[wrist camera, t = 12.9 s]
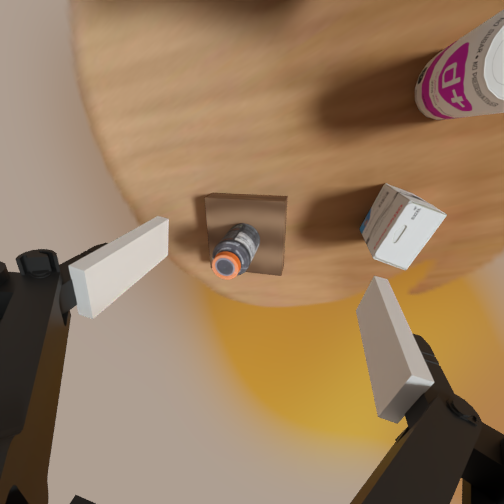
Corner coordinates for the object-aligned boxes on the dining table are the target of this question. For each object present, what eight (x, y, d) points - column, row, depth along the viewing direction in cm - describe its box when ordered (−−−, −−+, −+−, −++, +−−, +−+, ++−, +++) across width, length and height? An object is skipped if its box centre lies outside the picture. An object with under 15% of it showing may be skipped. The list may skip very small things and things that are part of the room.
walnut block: (212, 192, 46) (204, 197, 43) (287, 196, 43) (285, 201, 40) (217, 259, 52) (210, 268, 49) (283, 265, 49) (281, 275, 46)
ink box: (384, 239, 43) (406, 272, 33) (357, 229, 43) (371, 258, 33) (414, 193, 39) (450, 214, 28) (384, 182, 39) (409, 199, 29)
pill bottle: (230, 252, 46) (207, 284, 36) (227, 222, 44) (201, 247, 34) (261, 253, 45) (246, 287, 35) (260, 222, 42) (243, 249, 33)
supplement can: (412, 127, 35) (470, 122, 22) (413, 59, 32) (480, 6, 19) (482, 110, 33) (594, 94, 20) (489, 35, 30) (627, -44, 17)
